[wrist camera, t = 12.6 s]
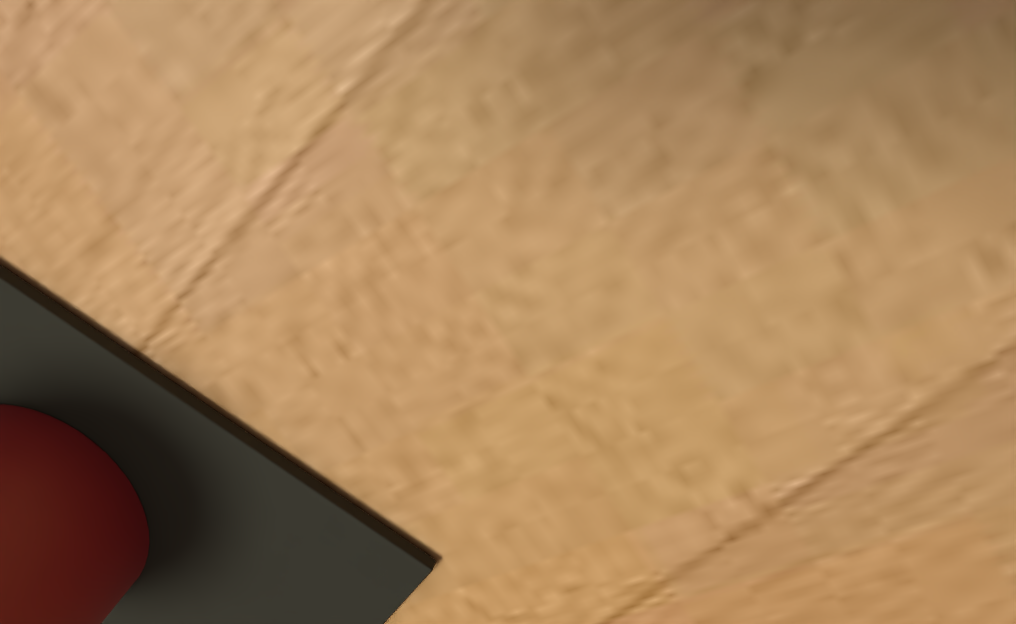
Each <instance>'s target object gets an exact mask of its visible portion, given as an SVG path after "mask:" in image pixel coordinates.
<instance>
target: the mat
mask: <svg viewBox="0 0 1016 624" xmlns="http://www.w3.org/2000/svg"><path fill="white" fill-rule="evenodd" d="M0 404H5V405H13V406H20V407H24V408H28V409H33V410H36V411H39V412H41V413H44V414H47V415H50V416H52V417H54V418H56V419H58V420H60V421H62V422H64V423H66V424H68V425H69V426H71V427H73V428H75V429H76V430H78V431H80V432H81V433H82V434H84V435H85V436H86V437H88V438H89V439H90V440H92V441H93V442H94V443H95V444H97V445H98V446H99V447H100V448H101V449H102V450H103V451H105V452H106V453H107V454H108V455H109V457H110V458H111V459H112V460H113V461H114V462H115V463H116V464H117V465H118V466H119V468H120V469H121V470H122V472H123V473H124V474H125V475H126V477H127V478H128V480H129V481H130V483H131V485H132V486H133V488H134V489H135V491H136V493H137V495H138V497H139V499H140V502H141V504H142V506H143V509H144V512H145V515H146V519H147V524H148V529H149V550H148V557H147V560H146V563H145V566H144V568H143V570H142V572H141V574H140V576H139V577H138V578H137V580H136V581H135V582H134V583H133V585H132V586H131V587H130V588H129V590H128V591H127V592H126V593H125V595H124V596H123V597H122V598H121V599H120V601H119V602H118V603H117V604H116V606H115V607H114V608H113V609H112V611H111V612H110V613H109V614H108V616H107V617H106V618H105V619H104V621H103V622H102V623H101V624H384V623H385V622H386V621H387V619H388V618H389V617H390V616H391V615H392V614H393V613H394V612H395V611H396V610H397V608H398V607H399V606H400V605H401V604H402V603H403V602H404V601H405V600H406V599H407V597H408V596H409V595H410V594H411V593H412V592H413V591H414V590H415V589H416V588H417V586H418V585H419V584H420V583H421V582H422V581H423V580H424V579H425V578H426V577H427V575H428V574H429V573H430V572H431V571H432V569H433V567H434V564H435V562H436V560H435V559H433V558H432V557H430V556H429V555H427V554H426V553H425V552H423V551H422V550H420V549H419V548H417V547H416V546H414V545H413V544H411V543H410V542H408V541H407V540H405V539H404V538H402V537H401V536H399V535H398V534H396V533H395V532H394V531H392V530H391V529H389V528H388V527H386V526H385V525H383V524H382V523H380V522H379V521H377V520H376V519H374V518H373V517H371V516H370V515H368V514H367V513H366V512H364V511H363V510H361V509H360V508H358V507H357V506H355V505H354V504H352V503H351V502H349V501H348V500H346V499H345V498H343V497H342V496H340V495H339V494H338V493H336V492H335V491H333V490H332V489H330V488H329V487H327V486H326V485H324V484H323V483H321V482H320V481H318V480H317V479H315V478H314V477H312V476H311V475H309V474H308V473H307V472H305V471H304V470H302V469H301V468H299V467H298V466H296V465H295V464H293V463H292V462H290V461H289V460H287V459H286V458H284V457H283V456H281V455H280V454H279V453H277V452H276V451H274V450H273V449H271V448H270V447H268V446H267V445H265V444H264V443H262V442H261V441H259V440H258V439H256V438H255V437H253V436H252V435H250V434H249V433H248V432H246V431H245V430H243V429H242V428H240V427H239V426H237V425H236V424H234V423H233V422H231V421H230V420H228V419H227V418H225V417H224V416H222V415H221V414H220V413H218V412H217V411H215V410H214V409H212V408H211V407H209V406H208V405H206V404H205V403H203V402H202V401H200V400H199V399H197V398H196V397H194V396H193V395H192V394H190V393H189V392H187V391H186V390H184V389H183V388H181V387H180V386H178V385H177V384H175V383H174V382H172V381H171V380H169V379H168V378H166V377H165V376H163V375H162V374H161V373H159V372H158V371H156V370H155V369H153V368H152V367H150V366H149V365H147V364H146V363H144V362H143V361H141V360H140V359H138V358H137V357H135V356H134V355H133V354H131V353H130V352H128V351H127V350H125V349H124V348H122V347H121V346H119V345H118V344H116V343H115V342H113V341H112V340H110V339H109V338H107V337H106V336H105V335H103V334H102V333H100V332H99V331H97V330H96V329H94V328H93V327H91V326H90V325H88V324H87V323H85V322H84V321H82V320H81V319H79V318H78V317H76V316H75V315H74V314H72V313H71V312H69V311H68V310H66V309H65V308H63V307H62V306H60V305H59V304H57V303H56V302H54V301H53V300H51V299H50V298H48V297H47V296H46V295H44V294H43V293H41V292H40V291H38V290H37V289H35V288H34V287H32V286H31V285H29V284H28V283H26V282H25V281H23V280H22V279H20V278H19V277H18V276H16V275H15V274H13V273H12V272H10V271H9V270H7V269H6V268H4V267H3V266H1V265H0Z"/></svg>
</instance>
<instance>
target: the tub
mask: <svg viewBox="0 0 1016 624" xmlns="http://www.w3.org/2000/svg"><path fill="white" fill-rule="evenodd" d="M148 550H149V529H148V524H147V519H146V515H145V512H144V509H143V506H142V504H141V502H140V499H139V497H138V495H137V493H136V491H135V489H134V488H133V486H132V485H131V483H130V481H129V480H128V478H127V477H126V475H125V474H124V473H123V472H122V470H121V469H120V468H119V466H118V465H117V464H116V463H115V462H114V461H113V460H112V459H111V458H110V457H109V455H108V454H107V453H106V452H105V451H103V450H102V449H101V448H100V447H99V446H98V445H97V444H95V443H94V442H93V441H92V440H90V439H89V438H88V437H86V436H85V435H84V434H82V433H81V432H80V431H78V430H76V429H75V428H73V427H71V426H69V425H68V424H66V423H64V422H62V421H60V420H58V419H56V418H54V417H52V416H50V415H47V414H44V413H41V412H39V411H36V410H33V409H28V408H24V407H20V406H13V405H5V404H0V624H101V623H102V622H103V621H104V619H105V618H106V617H107V616H108V614H109V613H110V612H111V611H112V609H113V608H114V607H115V606H116V604H117V603H118V602H119V601H120V599H121V598H122V597H123V596H124V595H125V593H126V592H127V591H128V590H129V588H130V587H131V586H132V585H133V583H134V582H135V581H136V580H137V578H138V577H139V576H140V574H141V572H142V570H143V568H144V566H145V563H146V560H147V557H148Z"/></svg>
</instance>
